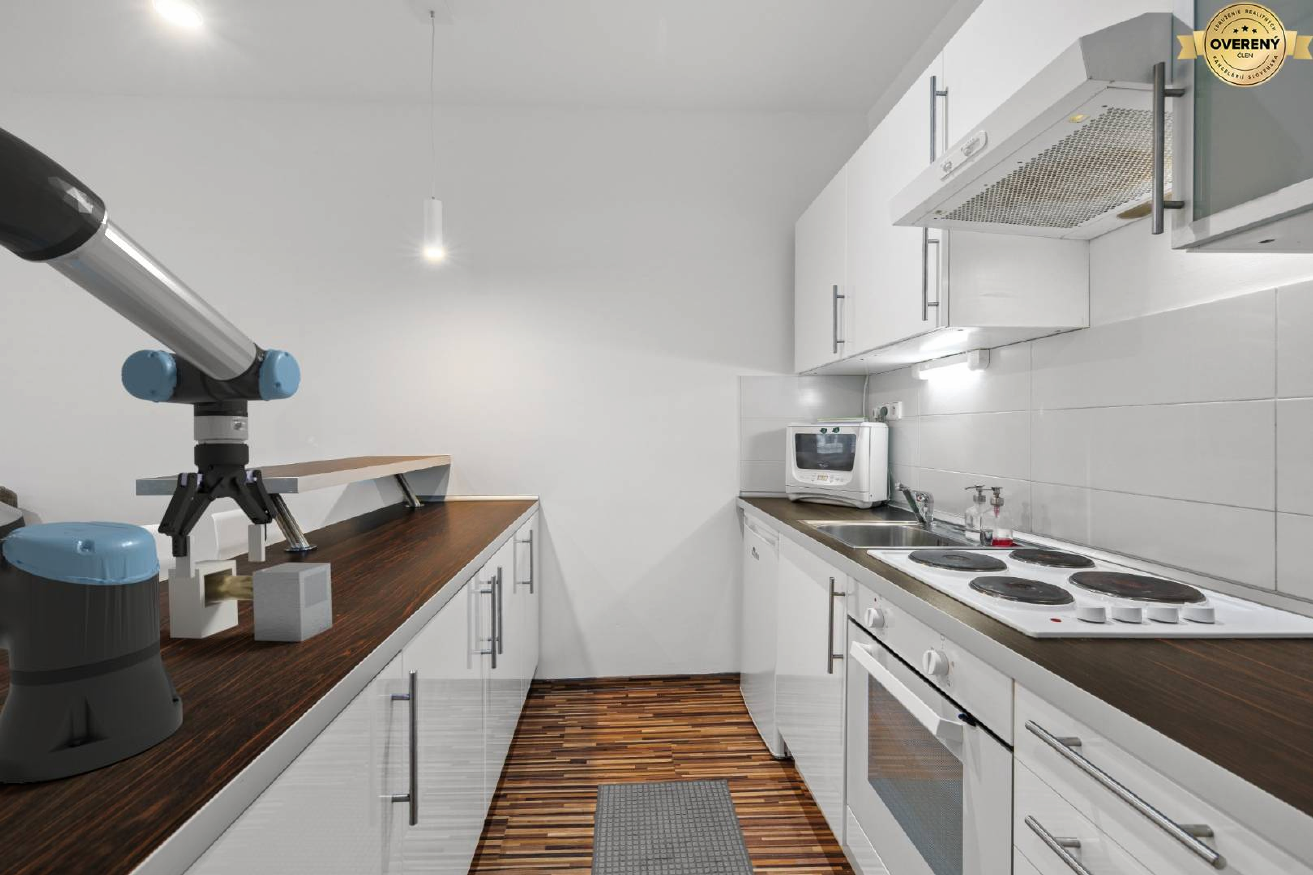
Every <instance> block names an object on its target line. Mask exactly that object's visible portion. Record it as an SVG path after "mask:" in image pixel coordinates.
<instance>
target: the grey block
mask: <svg viewBox="0 0 1313 875" xmlns="http://www.w3.org/2000/svg"><path fill="white" fill-rule="evenodd" d="M331 570H332V569H331V562H284V563H281V564H276V565H273V566H270V567H266V568H263V569H259V570H256V571H252V576H253V600H252V601H253V620H254V621H253V622H254V623H253V624H254V626H253V627H254V641H273V642H301V643H302V642H304V641H306V640H308V639H311V638H313V637H315V636H317V635H319V634H321V633H323V632H325V631H327V630H330V629H332V628H333V609H332V608H333V606H332V580H331V578H332V577H331V572H332V571H331Z"/></svg>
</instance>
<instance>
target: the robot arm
mask: <svg viewBox="0 0 1313 875" xmlns="http://www.w3.org/2000/svg"><path fill="white" fill-rule="evenodd" d="M108 214H109V213H108V207H107V204H106V203H105V201H103V198H101V197H100V196H99V195H97V194H96V193H95V192H94V191H93V190H92V189H91V188H89V186H87V185H86V184H85V183H84V182H82V181H81V180H79V179H78V178H77V177H76V176H74V175H73V174H72V173H71V172H70V171H69V170H67V169H66V168H64V166H62V165H60V164H59V163H58V162H56V161H55V160H54V159H52V158H51V157H49V156H48V155H47V154H46V153H44V152H42V151H41V150H39V149H38V148H36V147H35V146H33V145H31V144H29V143H28V142H26V141H25V140H23V139H21V138H20V137H18V136H16V135H15V134H13V133H11V132H9V131H8V130H6V129H4V128H2V127H1V126H0V246H2V247H3V248H5V249H7V250H8V251H10V253H12V254H13V255H15V256H17V257H18V258H20V259H21V260H23V261H26V262H29V263H34V264H35V263H36V264H37V263H38V264H41V263H43V264H45V263H46V264H47V265H48V266H50V267H51V268H52V269H54V270H56V271H57V272H58V273H59V274H61V275H63V276H64V277H65V278H68V280H69V281H71V282H72V283H74V284H75V285H77V286H78V287H80V288H81V289H83V290H84V291H86V292H87V293H89V294H90V295H92V296H93V297H94V298H95V299H97V300H99V301H100V302H102V304H105V305H106V306H108V307H109V308H110V309H112V310H113V311H115V312H116V313H118V315H120V316H122V317H123V318H125V319H126V320H128V321H129V322H130V323H132V324H134V325H135V326H136V327H137V328H138V329H141V330H142V331H143V332H145V333H146V334H148V335H149V336H150V337H152V338H153V339H155V341H158V342H159V343H161V344H162V345H164V346H165V347H166V348H168V349H169V350H171V351H172V352H174V353H172V352H167V351H165V350H162V349H160V350H153V349H141V350H137V351H135V352H133V353H132V354H130V355H129V356H128V357H127V358H126V359H125V361H124V362H123V364H122V366H121V373H120V374H121V376H120V377H121V382H122V385H123V387H124V389H125V391H127V393H129V394H130V395H131V396H132V397H134V398H136V399H140V400H142V401H143V400H144V401H150V402H153V403H156V404H157V403H169V404H182V405H190V406H191V405H193V440H194V441H195V442H197V444H195V446H193V463H194V466H196V467H197V469H198V470H197V472H196V471H195V472H180V473H178V474H177V481H176V482H177V483H176V488H175V490H174V492H173V495H172V497H171V499H170V501H169V503H168V505H167V507H166V510H165V513H164V514H163V517H162V518H161V521H160V523H159V525H158V528H157V532H158V534H163V535H165V536H166V537H171V555H172V557H173V558H175V567H176V578H191V577H195V562H196V553H195V552H196V547H195V546H196V545H195V544H196V542H195V541H196V540H195V539H196V538H195V536H196V534H194V535H193V534H191V535H190V533H191V532H192V530H193V529H194V527H195V526H196V524H197V523H198V522H199V520H200V519H201V518H202V516H203V514H204V513H205V512H206V510H207V508H208V507H209V506H210V504H211V503H212V502H214V501H216V500H217V499H223V498H224V499H225V498H230V499H232V500H234V502H235V503H236V504H237V505H238V507H239V508H240V509H241V510H242V512H243V513H244V515H246V516H247V518H248V519H249V520H250V521H251V523H252V524H248V525H247V540H248V541H247V542H248V545H247V546H248V547H247V549H248V550H247V551H248V552H247V553H248V554H247V555H248V558H247V560H248V562H265V561H266V541H267V537H268V536H267V533H268V532H267V531H268V530H267V527H268V526H267V525H269V524H272V523H273V520H275V519H276V518H277V512H276V510H275V507H274V505H273V503H272V501H271V498H270V495H269V493H268V492H267V490H266V487H265V485H264V482H263V475H262V471H261V470H260V469H246V465H249V462H250V446H249V445H248V443H245V441H248V440H249V411H248V410H249V409H248V408H249V404H248V402H249V401H255V402H256V401H257V402H258V401H265V402H269V401H272V400H273V401H274V400H284V399H285V400H286V399H288V398H291V397H293V396H294V395H295V394H296V393H297V392H298V389H299V388H300V387H299V385H300V382H301V370H300V366H299V363H298V362H297V360H296V358H295V357H294V356H293V354H291V353H290V352H288V351H285V350H279V349H278V350H277V349H273V348H269V349H263V348H261V347H260V346H259V345H258V344H256V342H254V341H253V339H251V338H249V336H248V335H246V334H245V333H244V332H243V331H241V329H239V328H238V327H237V326H235V325H234V324H233V323H232V322H231V321H230V320H229V319H228V318H226V317H225V316H224V315H223V314H222V313H220V312H219V311H218V310H217V309H216V308H215V307H213V305H211V304H210V303H209V302H207V301H206V300H205V299H204V298H203V297H202V296H201V295H199V294H198V293H197V292H196V291H195V290H194V289H192V288H191V287H190V286H189V285H188V284H187V283H185V282H184V281H183V280H182V279H180V278H179V277H178V276H177V275H176V274H174V273H173V272H172V271H171V270H170V269H169V268H168V267H166V266H165V265H164V264H163V263H162V262H161V261H160V260H158V259H157V258H156V257H155V256H154V255H153V254H151V253H150V252H149V251H148V250H146V249H145V248H144V247H143V246H142V245H141V244H140V243H138V242H137V241H136V240H135V239H134V238H133V237H131V236H130V235H129V234H128V233H127V232H126V231H124V230H123V229H122V228H121V227H119V225H118V224H116V223H115V222H114V221H113V220H112V219H110V217H108ZM160 568H161V565H160V559H159V557H158V552H157V543H156V539H155V537H154V535H153V533H152V532H151V531H149V530H148V529H146V528H145V527H142V526H139V525H135V524H133V523H124V522H114V521H92V520H91V521H61V522H47V523H39V524H32V525H26V523H25V517H24V514H23V511H22V510H20V509H19V508H16V507H14V506H13V505H12V506H11V505H9V504H7V503H5V502H3V501H1V500H0V651H7V650H8V667H9V668H8V669H9V690H8V693H7V697H6V698H5V701H4V704H3V707H2V709H1V712H0V782H4V783H3V784H7V783H8V782H10V783H13V782H14V783H16V782H17V783H19V782H20V784H26V783H25V782H32V783H37V782H38V781H40V782H46V781H51V780H57V779H60V778H66V777H70V776H75V775H79V774H82V773H86V772H89V771H92V770H93V771H94V770H96V769H99V768H103V767H106V766H109V765H111V764H114V763H116V762H117V763H118V762H120V761H123V760H125V759H128V758H130V757H133V756H135V755H137V754H140V753H142V752H145V750H148V749H150V748H152V747H154V746H156V745H158V744H159V743H161V742H163V741H164V740H166V739H167V738H169V737H170V736H172V735H173V734H174V733H175V732H176V731H178V730H179V728H180V727H181V726H182V723H183V717H184V716H183V703H182V698H181V697H180V695H179V694H178V692H177V689H176V686H175V685H174V682H173V680H172V678H171V676H170V674H169V672H168V670H167V668H166V666H165V663H164V662H163V660H162V655H161V653H162V652H161V624H160V623H161V621H160V620H161V618H160V617H161V616H160V615H161V614H160V613H161V611H160V607H161V606H160ZM44 780H45V781H44ZM36 781H37V782H36ZM21 782H22V783H21ZM38 783H39V782H38Z"/></svg>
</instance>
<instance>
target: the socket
mask: <svg viewBox="0 0 1313 875" xmlns="http://www.w3.org/2000/svg"><path fill="white" fill-rule="evenodd" d="M236 560H237V559H205V560H204V559H203V560H199V561H195V577H191V578H176V566H175V567H169V568H168V569H167V573H168V576H167V579H168V602H169V603H168V605H169V633H170V634H169V636H170V638H175V639H176V638H177V639H178V638H179V639H180V638H181V639H203V638H207V637H209V636H211V635H214V634H218V633H220V632H223V631H225V630H228V629H231V628H233V627H236V626H238V625H239V619H238V618H239V617H238V614H239V612H238V600H214V599H205V593H204V576H205V575H237V561H236Z"/></svg>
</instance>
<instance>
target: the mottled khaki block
mask: <svg viewBox="0 0 1313 875" xmlns="http://www.w3.org/2000/svg"><path fill="white" fill-rule="evenodd" d="M204 593H205V599H214V600H237V601H254V600H253V575H240V574H239V575H237V574H236V575H205V576H204Z"/></svg>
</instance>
